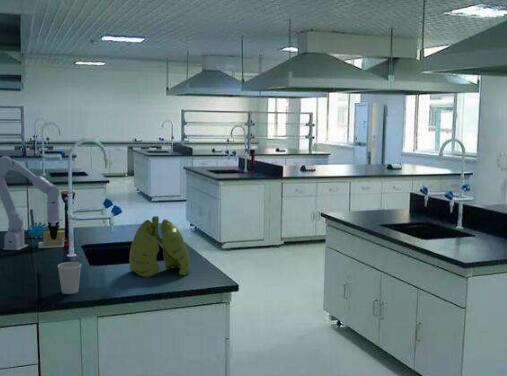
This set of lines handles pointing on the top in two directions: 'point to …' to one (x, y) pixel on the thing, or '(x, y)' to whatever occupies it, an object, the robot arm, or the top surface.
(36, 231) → the blue spiky piece
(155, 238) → the lungs
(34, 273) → the top surface
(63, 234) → the tan rectangular block
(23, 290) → the top surface
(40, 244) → the tray
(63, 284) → the dixie cup
